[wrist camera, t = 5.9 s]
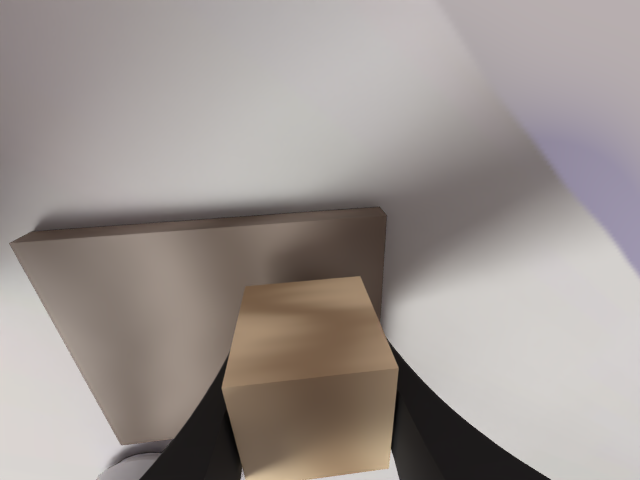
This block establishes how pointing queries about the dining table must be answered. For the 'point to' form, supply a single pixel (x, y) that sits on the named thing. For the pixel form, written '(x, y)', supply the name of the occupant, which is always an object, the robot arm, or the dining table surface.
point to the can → (130, 467)
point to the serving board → (181, 298)
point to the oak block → (310, 381)
